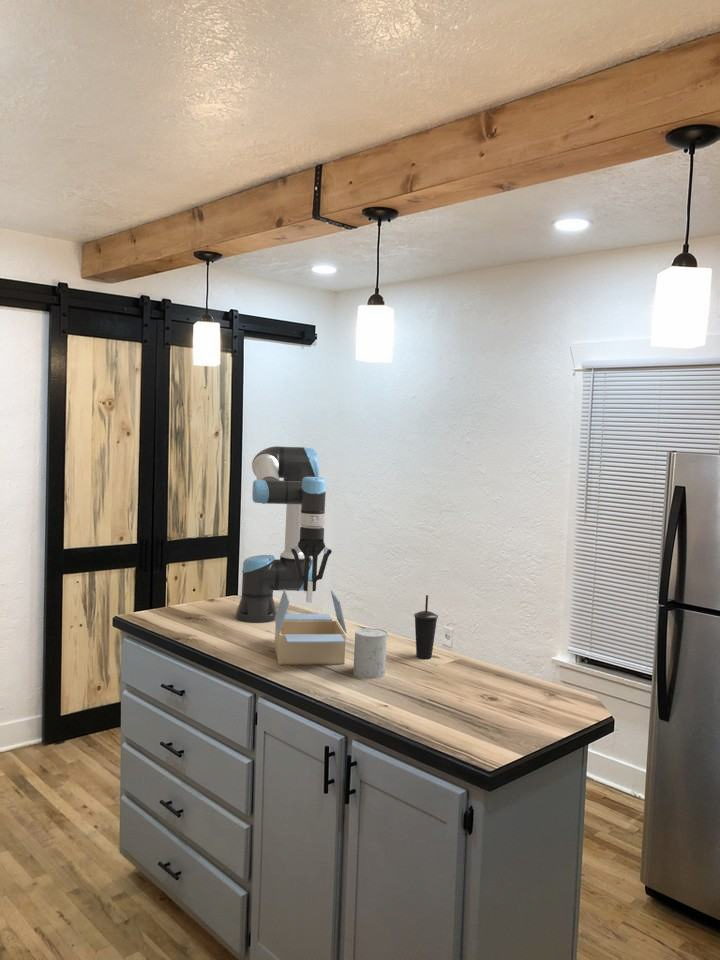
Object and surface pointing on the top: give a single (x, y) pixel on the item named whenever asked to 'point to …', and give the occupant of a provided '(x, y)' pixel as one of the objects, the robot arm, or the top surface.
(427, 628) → the drinking cup
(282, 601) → the flap
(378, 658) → the speckled concrete cylinder
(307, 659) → the carton
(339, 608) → the flap
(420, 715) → the top surface
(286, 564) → the robot arm
